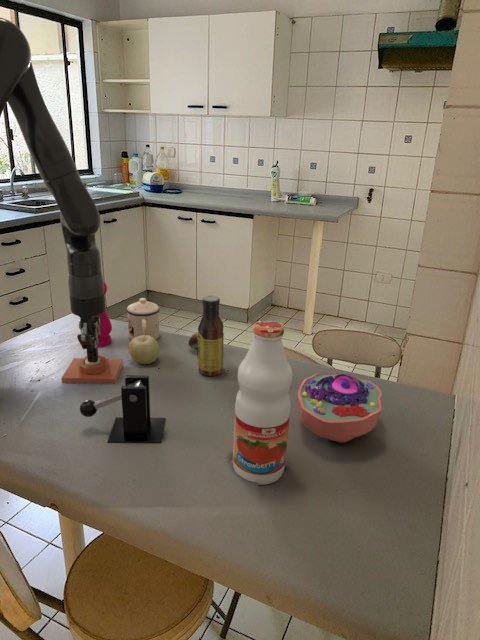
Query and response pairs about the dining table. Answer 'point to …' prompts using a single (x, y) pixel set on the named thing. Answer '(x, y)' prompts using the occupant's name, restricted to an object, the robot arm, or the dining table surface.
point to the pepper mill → (105, 327)
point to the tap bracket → (136, 415)
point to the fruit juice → (263, 407)
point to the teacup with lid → (143, 319)
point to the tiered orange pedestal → (93, 371)
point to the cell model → (339, 405)
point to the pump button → (92, 362)
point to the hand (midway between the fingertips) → (93, 360)
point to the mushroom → (194, 341)
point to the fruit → (144, 349)
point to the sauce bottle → (210, 338)
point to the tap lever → (102, 402)
